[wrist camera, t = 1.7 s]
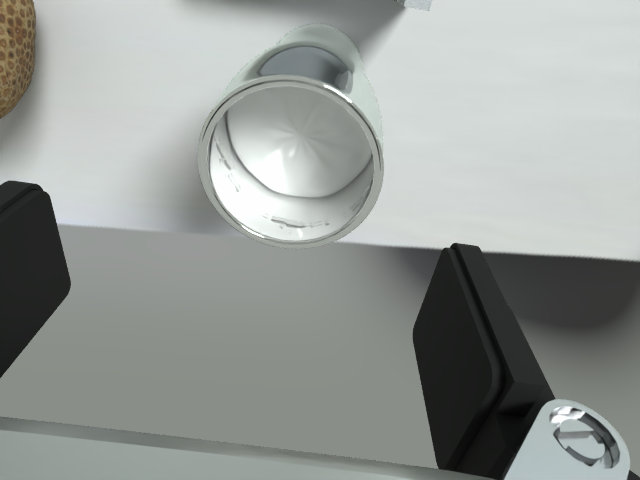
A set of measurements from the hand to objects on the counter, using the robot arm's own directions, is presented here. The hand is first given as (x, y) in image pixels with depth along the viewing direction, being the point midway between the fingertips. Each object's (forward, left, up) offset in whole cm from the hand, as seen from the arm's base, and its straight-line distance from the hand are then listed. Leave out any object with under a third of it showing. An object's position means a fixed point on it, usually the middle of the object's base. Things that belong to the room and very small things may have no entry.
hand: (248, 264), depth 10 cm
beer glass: (0, 0, -21) cm, 21 cm away
